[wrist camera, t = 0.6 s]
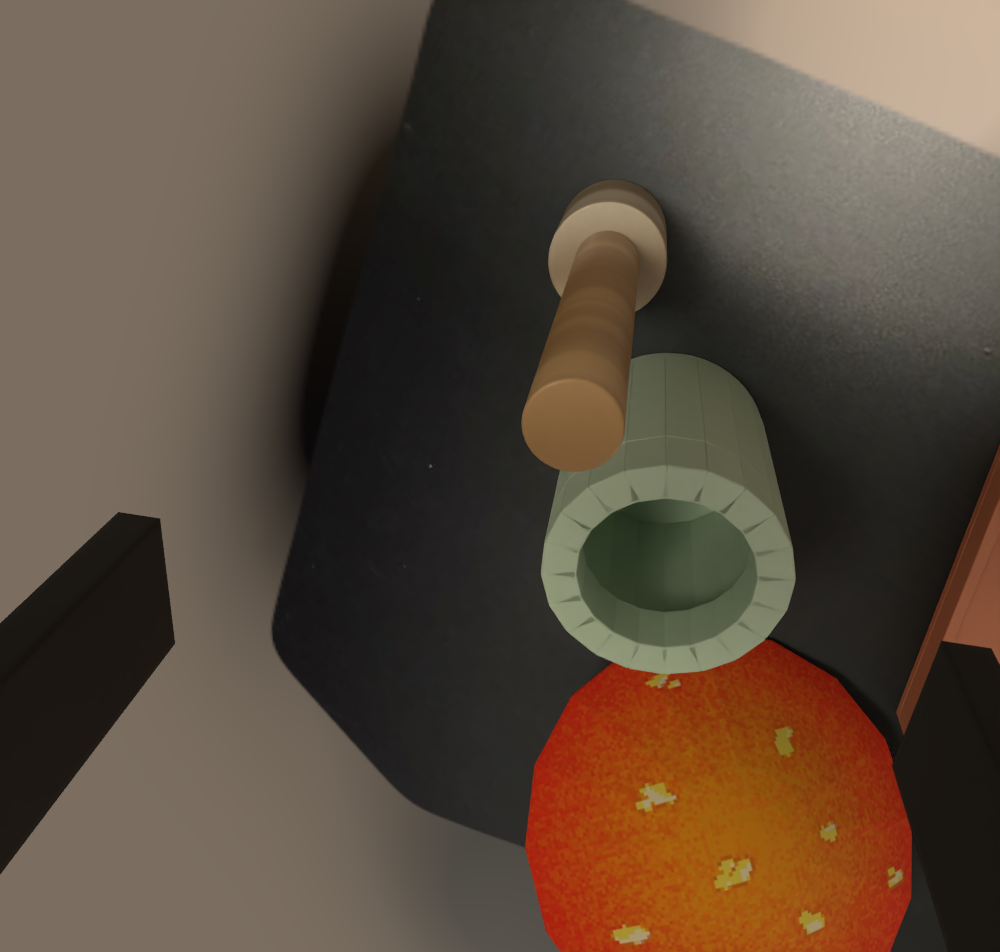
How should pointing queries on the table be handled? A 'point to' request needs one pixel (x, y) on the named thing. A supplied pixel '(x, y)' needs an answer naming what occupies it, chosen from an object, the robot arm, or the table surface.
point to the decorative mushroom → (718, 814)
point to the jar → (673, 528)
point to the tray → (965, 594)
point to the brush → (594, 323)
